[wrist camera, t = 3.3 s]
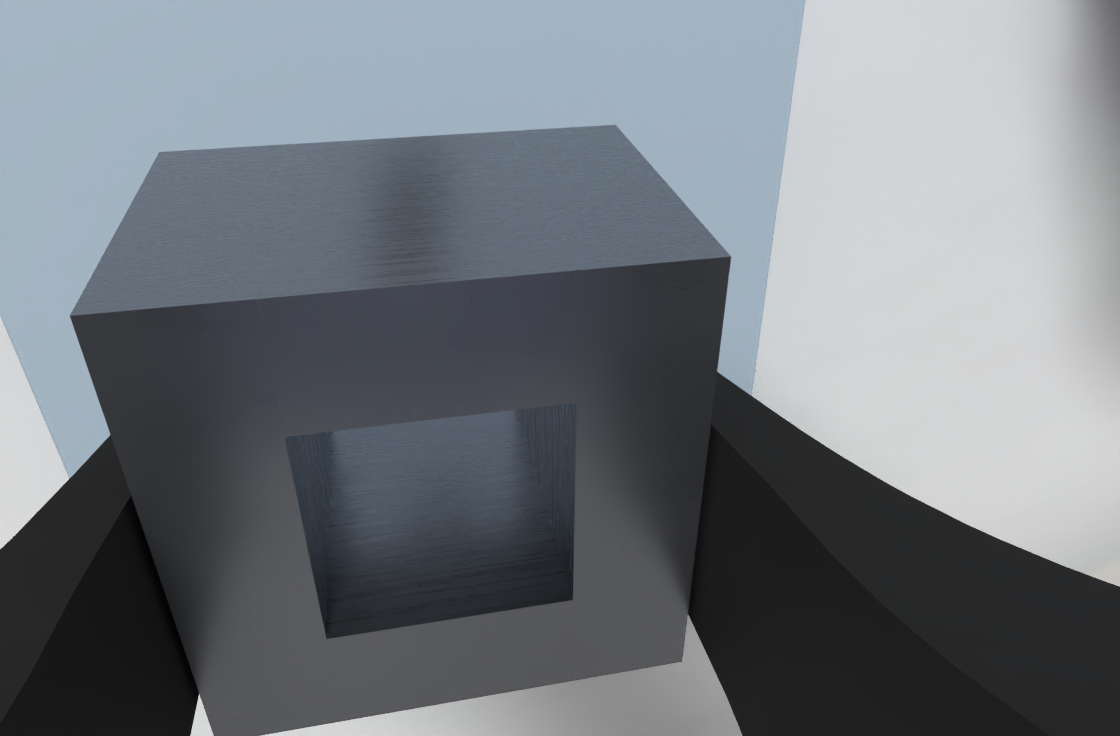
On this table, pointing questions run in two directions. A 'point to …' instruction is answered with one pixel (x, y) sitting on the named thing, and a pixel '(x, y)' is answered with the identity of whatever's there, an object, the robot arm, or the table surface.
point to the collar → (410, 414)
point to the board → (365, 123)
